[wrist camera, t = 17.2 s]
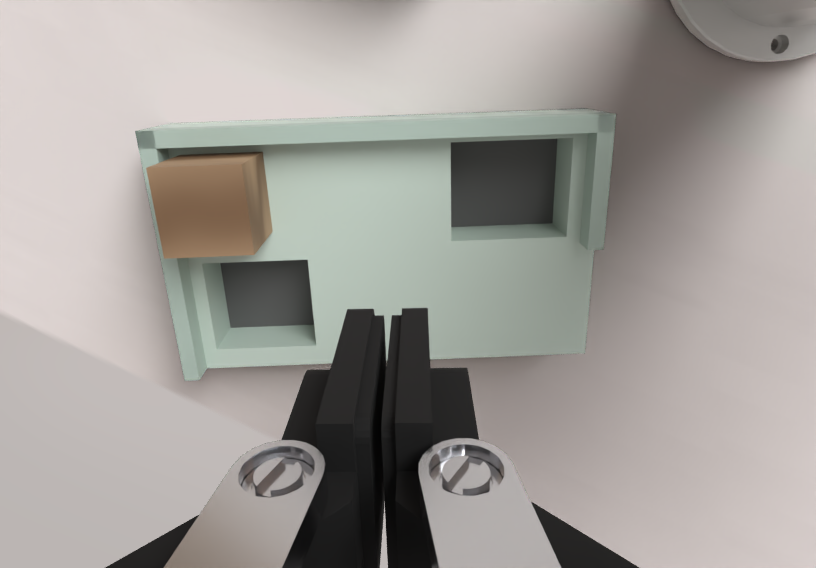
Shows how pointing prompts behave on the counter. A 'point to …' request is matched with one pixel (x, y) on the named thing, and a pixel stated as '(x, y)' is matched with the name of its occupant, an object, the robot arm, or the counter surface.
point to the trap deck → (399, 234)
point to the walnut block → (211, 204)
